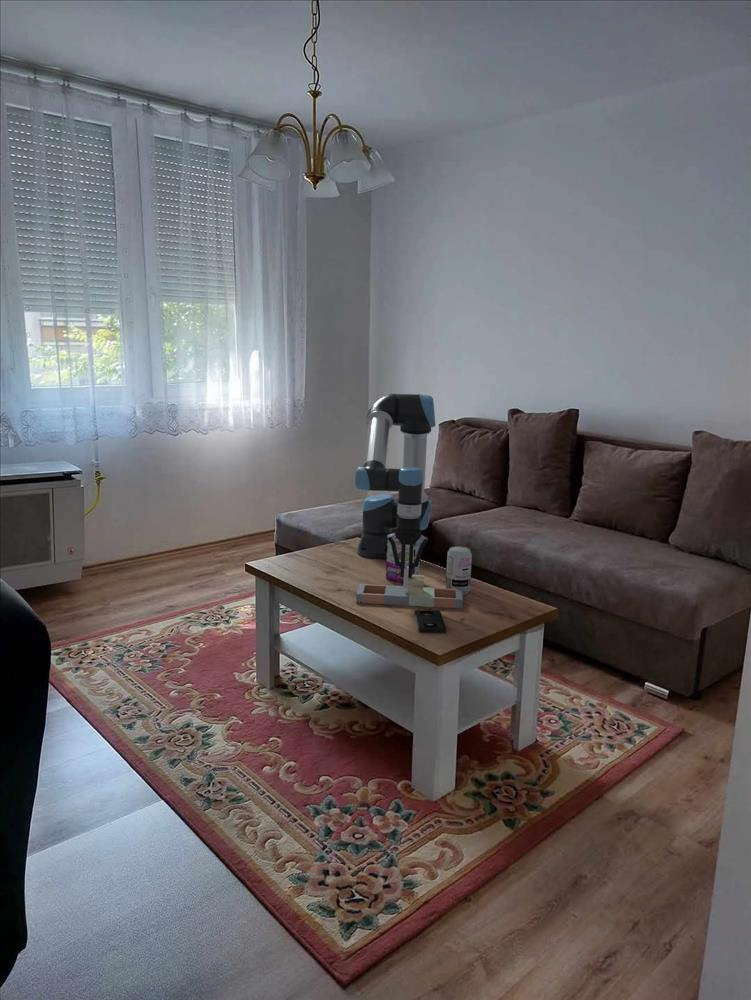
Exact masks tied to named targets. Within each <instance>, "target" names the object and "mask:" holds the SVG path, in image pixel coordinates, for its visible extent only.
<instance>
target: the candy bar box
mask: <svg viewBox="0 0 751 1000" xmlns="http://www.w3.org/2000/svg"><path fill="white" fill-rule="evenodd" d="M393 534H395V532H391V534H389V535H387V558H386V568H385V569H386V570H385V579H386V580H387V581H393V582H397V583H403V584H404V577H401V576H400V573H401V568H400V567H399V566H396V565H395V561H394V556H393V551H392V546H391V543H390V542H389V540H388V537H389V536H390V535H393ZM395 543H396V548H397V553H398V558H399V561H400V562H401V550H402V544H401V543H400V541H399V540H398V539H397V537H396V541H395ZM420 544H421V543H420V538H419V540H418V541H417V542H416V543H415V544H414V547H413V563H414V562H415V560H416V556H417V553H418V550H419V547H420ZM409 548H410V545H408V544H407V545H406V550H405V566H409ZM420 563H421V560H420V561H419V564H418V567H414V568H413V569H412V575H420V572H421V571H420V565H421V564H420Z"/></svg>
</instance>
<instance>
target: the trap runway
mask: <svg viewBox="0 0 751 1000" xmlns="http://www.w3.org/2000/svg"><path fill="white" fill-rule="evenodd" d="M357 587H358V588H357V590H356V594H355V603H356V602H358V603H357V604H373V605H374V604H375V605H392V606H409V607H410V606H412V607H429V608H446V609H461V610H463V603H464V602H463V601H464V599H463V595H462V589H447V588H446V587H445V588H444V587H425V586H423V595H414V594H407V589H408V588H403V585H393V584H391V585H389V584H373V583H371V584H369V583H368V584H367V583H359V584H358V586H357ZM360 602H361V603H360Z"/></svg>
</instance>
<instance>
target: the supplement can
mask: <svg viewBox="0 0 751 1000" xmlns="http://www.w3.org/2000/svg"><path fill="white" fill-rule="evenodd" d="M446 555H447V557H446V576H445V588H447V589H462V596H464V595H467V594H468V593H469V592H470V590H471V576H472V574H471V573H472V561H473V559H472V557H473V553H472V551H471V549H470V548H468V547H467V546H459V545H457V546H451V547H449V549H448V550H447V554H446Z"/></svg>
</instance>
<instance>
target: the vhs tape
mask: <svg viewBox="0 0 751 1000" xmlns="http://www.w3.org/2000/svg"><path fill="white" fill-rule="evenodd" d="M414 619H415V622H416V626H417V630H418V633H419V634H420V633H421V634H422V633H424V634H447V626H446V624H445V621H444V618H443V615H442V612H441V610H439V609H438V610H437V609H436V610H431V609H430V610H423V609H422V610H421V609H420V610H418V609H417V610H414Z"/></svg>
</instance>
